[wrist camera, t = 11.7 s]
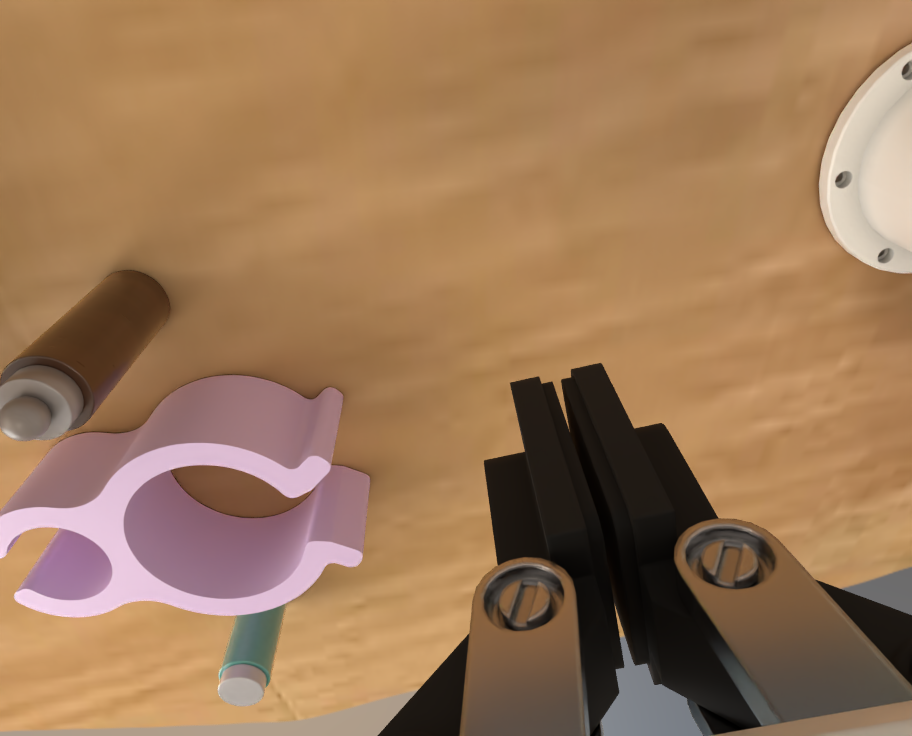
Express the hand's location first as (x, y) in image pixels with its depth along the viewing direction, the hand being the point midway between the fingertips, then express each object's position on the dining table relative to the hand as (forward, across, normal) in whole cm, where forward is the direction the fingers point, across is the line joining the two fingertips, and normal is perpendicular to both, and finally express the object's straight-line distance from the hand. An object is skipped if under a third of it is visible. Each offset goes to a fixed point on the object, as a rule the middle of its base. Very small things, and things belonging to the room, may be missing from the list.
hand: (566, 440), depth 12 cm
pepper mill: (+25, +20, +3) cm, 32 cm away
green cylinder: (+25, +21, +26) cm, 42 cm away
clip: (+25, +21, +15) cm, 36 cm away
